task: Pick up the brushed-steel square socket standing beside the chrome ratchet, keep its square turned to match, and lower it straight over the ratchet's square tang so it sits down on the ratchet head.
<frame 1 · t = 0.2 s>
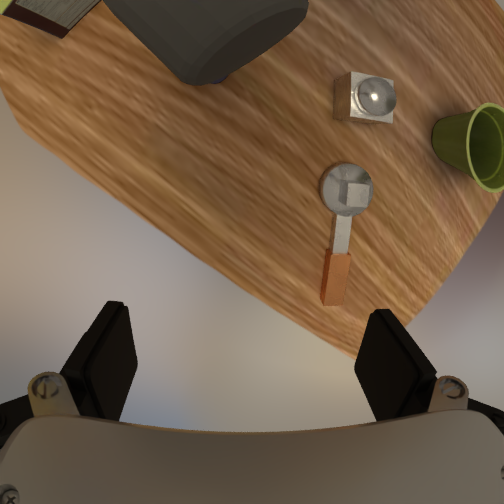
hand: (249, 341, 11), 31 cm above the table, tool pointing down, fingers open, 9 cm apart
socket: (353, 102, 36), on the table
rubber mallet: (214, 72, 34), on the table
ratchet: (342, 187, 40), on the table
plant pot: (447, 141, 38), on the table
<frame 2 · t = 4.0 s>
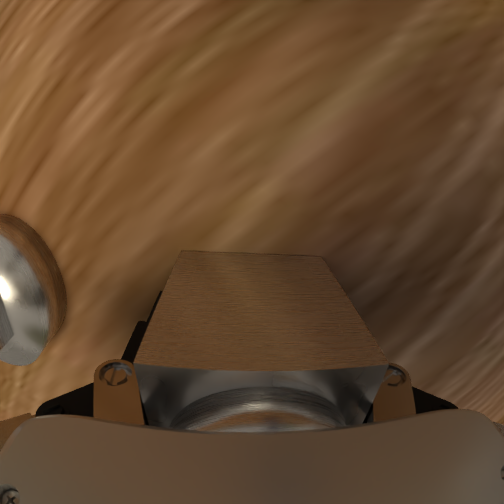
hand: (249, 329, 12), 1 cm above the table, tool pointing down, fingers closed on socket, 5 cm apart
socket: (248, 314, 13), on the table, touching gripper
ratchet: (13, 280, 12), on the table
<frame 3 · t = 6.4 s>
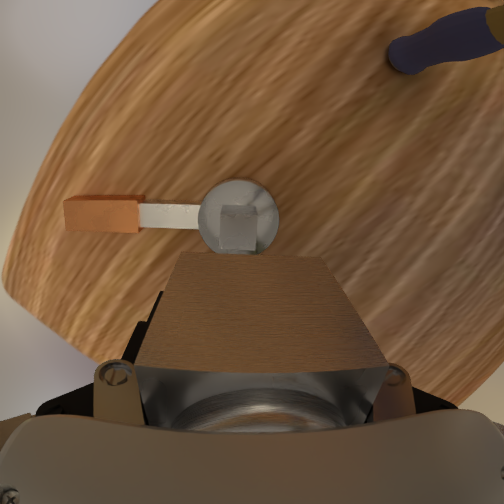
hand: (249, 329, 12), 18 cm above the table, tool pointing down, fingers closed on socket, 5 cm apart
socket: (248, 315, 13), point 17 cm above the table, touching gripper
rubber mallet: (398, 59, 23), on the table
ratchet: (238, 214, 29), on the table
when the fingers open (4 cm above the table, at t = 9.3 s): socket stays where it is, resting on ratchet.
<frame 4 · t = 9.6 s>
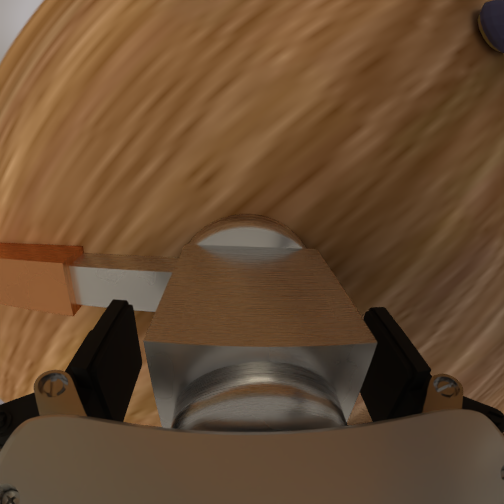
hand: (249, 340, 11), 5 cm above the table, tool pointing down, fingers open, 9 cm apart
socket: (248, 304, 14), point 2 cm above the table, touching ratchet
rubber mallet: (487, 32, 11), on the table
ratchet: (245, 280, 16), on the table, touching socket
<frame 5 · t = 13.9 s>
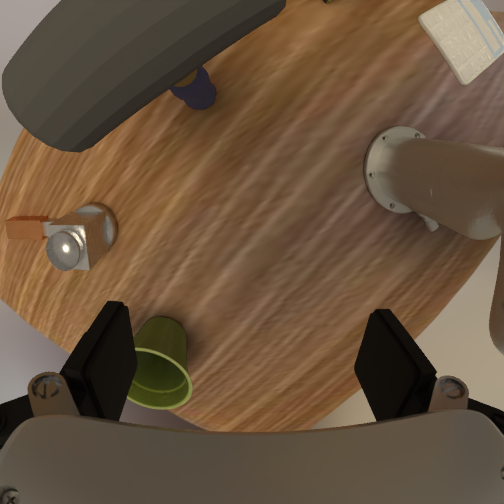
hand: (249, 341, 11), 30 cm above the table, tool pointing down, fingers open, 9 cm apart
socket: (89, 231, 37), point 2 cm above the table, touching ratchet
rubber mallet: (201, 96, 35), on the table
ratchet: (96, 226, 40), on the table, touching socket
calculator: (465, 33, 31), on the table
plant pot: (163, 333, 47), on the table
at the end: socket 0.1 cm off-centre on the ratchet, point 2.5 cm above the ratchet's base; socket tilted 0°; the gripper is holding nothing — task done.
